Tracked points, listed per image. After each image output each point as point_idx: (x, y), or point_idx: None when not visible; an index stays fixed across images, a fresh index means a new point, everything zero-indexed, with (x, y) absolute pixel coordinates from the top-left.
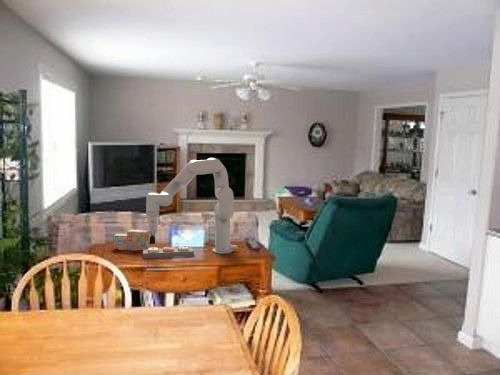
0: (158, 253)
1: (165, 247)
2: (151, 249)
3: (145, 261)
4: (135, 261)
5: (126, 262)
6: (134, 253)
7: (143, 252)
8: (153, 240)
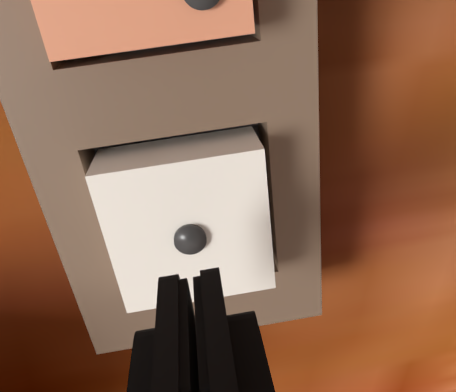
0: (316, 116)
1: (78, 7)
2: (242, 253)
3: (429, 228)
4: (401, 314)
5: (413, 370)
6: (84, 384)
7: (269, 318)
8: (262, 349)
